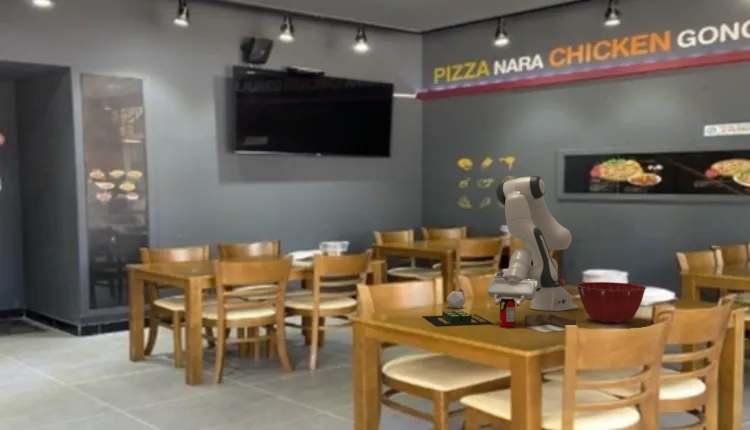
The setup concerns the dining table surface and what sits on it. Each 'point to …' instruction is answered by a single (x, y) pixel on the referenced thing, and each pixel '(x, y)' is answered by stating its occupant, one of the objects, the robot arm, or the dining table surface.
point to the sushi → (457, 319)
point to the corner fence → (548, 322)
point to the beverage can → (507, 312)
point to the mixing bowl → (611, 300)
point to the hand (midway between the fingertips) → (507, 304)
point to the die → (456, 299)
